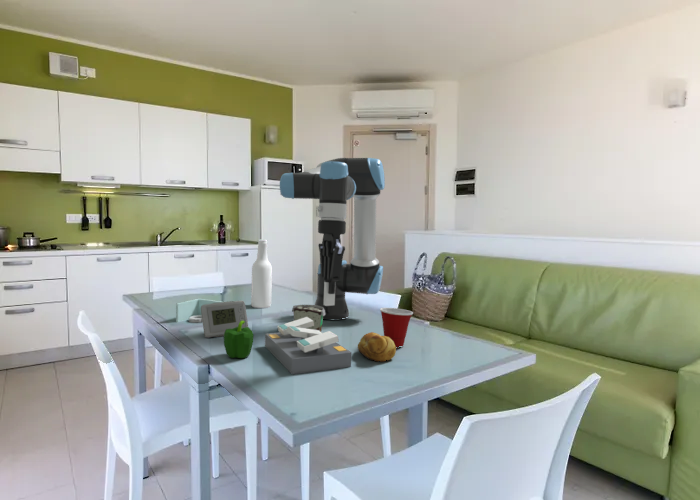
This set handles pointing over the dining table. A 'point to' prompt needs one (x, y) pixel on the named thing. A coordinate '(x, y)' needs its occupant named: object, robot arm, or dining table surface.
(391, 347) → the bread roll
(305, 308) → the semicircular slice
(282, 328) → the rocker
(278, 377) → the dining table surface
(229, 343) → the bell pepper
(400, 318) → the plastic cup
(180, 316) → the l-shaped corner panel
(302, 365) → the switch unit
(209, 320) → the digital clock
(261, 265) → the alcohol
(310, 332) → the rocker
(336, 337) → the white rectangular block
